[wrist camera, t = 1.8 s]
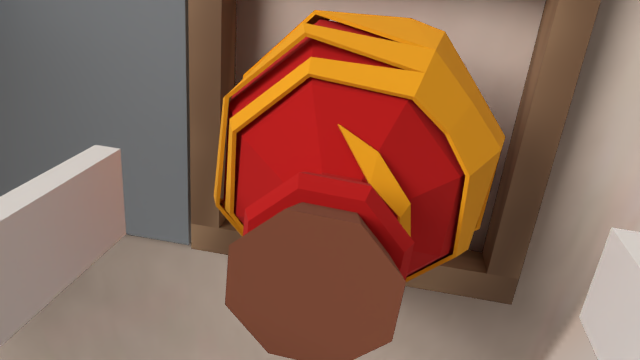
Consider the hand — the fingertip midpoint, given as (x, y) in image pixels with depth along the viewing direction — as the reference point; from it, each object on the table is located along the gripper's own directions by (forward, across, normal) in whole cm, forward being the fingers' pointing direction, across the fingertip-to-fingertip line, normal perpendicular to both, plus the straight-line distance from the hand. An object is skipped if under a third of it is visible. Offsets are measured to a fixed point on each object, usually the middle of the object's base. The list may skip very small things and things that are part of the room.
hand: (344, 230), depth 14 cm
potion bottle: (+12, 0, 0) cm, 12 cm away
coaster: (+12, -16, -2) cm, 20 cm away
